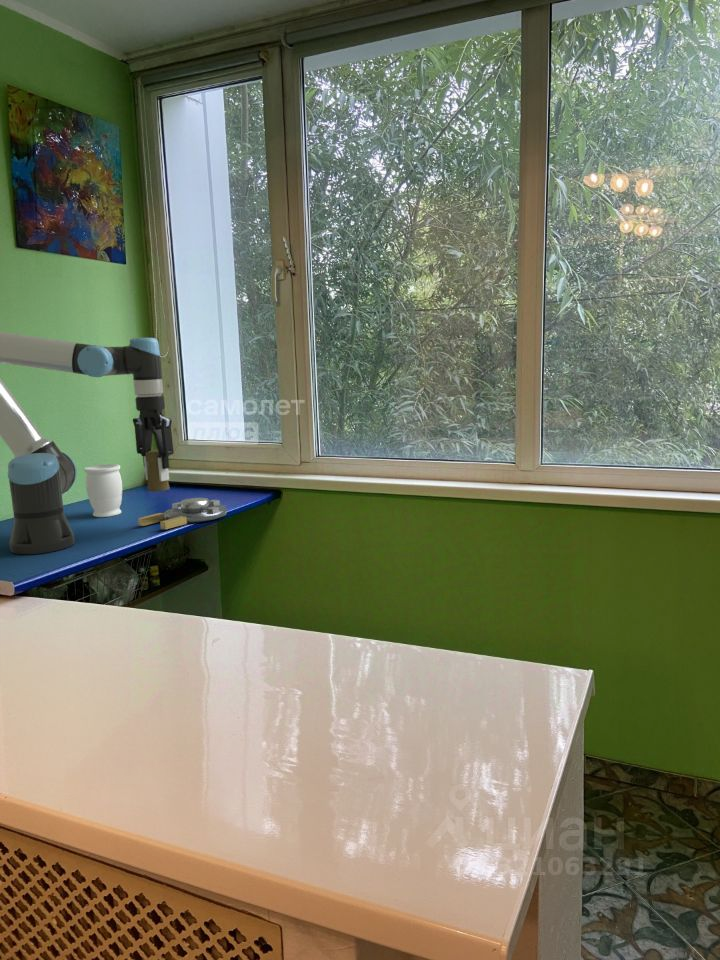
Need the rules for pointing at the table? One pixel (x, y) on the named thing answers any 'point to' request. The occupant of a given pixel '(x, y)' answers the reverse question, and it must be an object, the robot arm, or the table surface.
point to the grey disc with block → (186, 513)
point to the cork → (155, 473)
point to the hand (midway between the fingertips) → (157, 479)
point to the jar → (104, 489)
